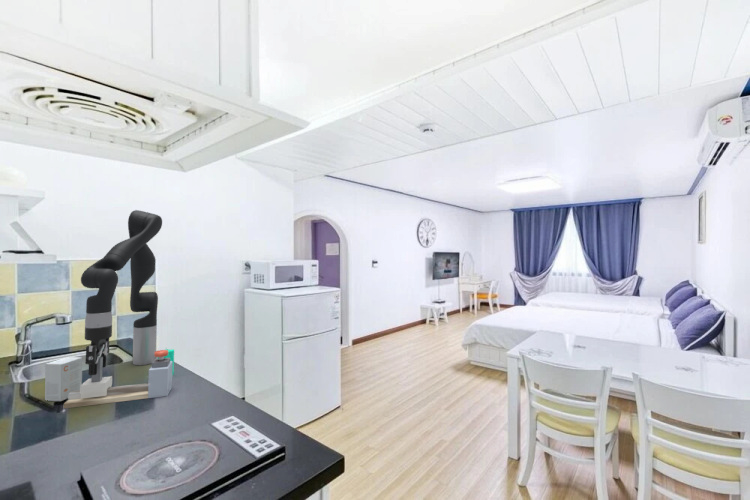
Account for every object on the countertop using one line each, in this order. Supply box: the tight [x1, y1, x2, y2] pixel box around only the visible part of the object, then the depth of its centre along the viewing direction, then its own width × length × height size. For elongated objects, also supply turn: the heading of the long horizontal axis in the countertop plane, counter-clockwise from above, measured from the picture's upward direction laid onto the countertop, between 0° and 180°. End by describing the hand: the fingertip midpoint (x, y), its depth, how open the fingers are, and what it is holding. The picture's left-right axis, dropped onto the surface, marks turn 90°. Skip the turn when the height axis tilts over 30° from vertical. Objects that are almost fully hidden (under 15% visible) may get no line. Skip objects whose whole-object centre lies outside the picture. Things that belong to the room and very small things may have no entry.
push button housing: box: [147, 358, 173, 399], centre depth 128 cm, size 9×6×12 cm, turn 22°
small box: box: [44, 356, 83, 402], centre depth 123 cm, size 8×6×13 cm
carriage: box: [80, 357, 113, 399], centre depth 121 cm, size 7×7×13 cm
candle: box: [157, 348, 175, 377], centre depth 145 cm, size 6×6×12 cm
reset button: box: [154, 349, 168, 361], centre depth 128 cm, size 4×4×3 cm
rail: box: [62, 382, 149, 409], centre depth 122 cm, size 9×24×4 cm, turn 112°
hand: (97, 371), depth 121 cm, fingers open, 8 cm apart
